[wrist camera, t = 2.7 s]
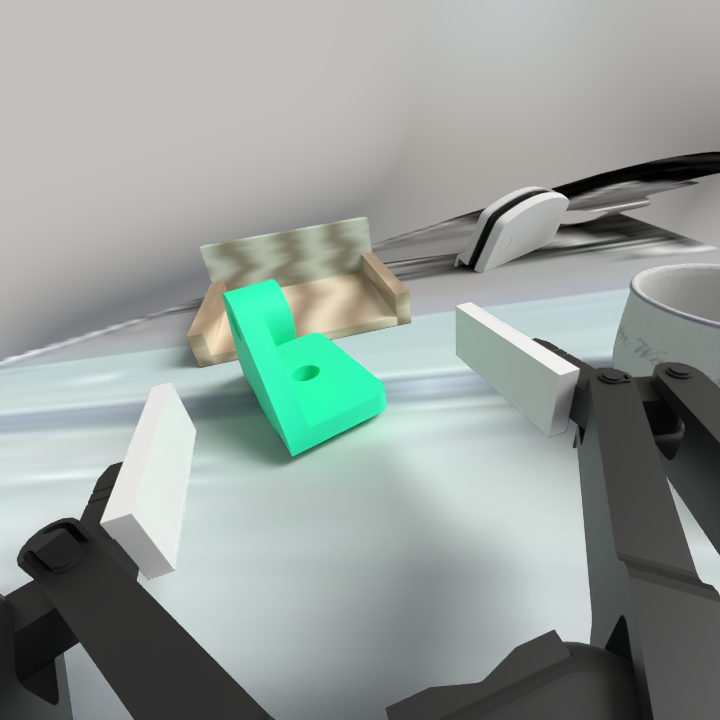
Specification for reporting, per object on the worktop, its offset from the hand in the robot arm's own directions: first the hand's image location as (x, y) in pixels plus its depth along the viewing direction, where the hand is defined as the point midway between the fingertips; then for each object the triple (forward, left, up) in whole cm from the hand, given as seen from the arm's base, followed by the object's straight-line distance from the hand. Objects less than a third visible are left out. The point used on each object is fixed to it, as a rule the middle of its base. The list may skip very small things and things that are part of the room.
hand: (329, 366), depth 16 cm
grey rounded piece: (+30, +33, -9) cm, 45 cm away
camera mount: (-2, +10, -9) cm, 13 cm away
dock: (-1, +29, -8) cm, 30 cm away
